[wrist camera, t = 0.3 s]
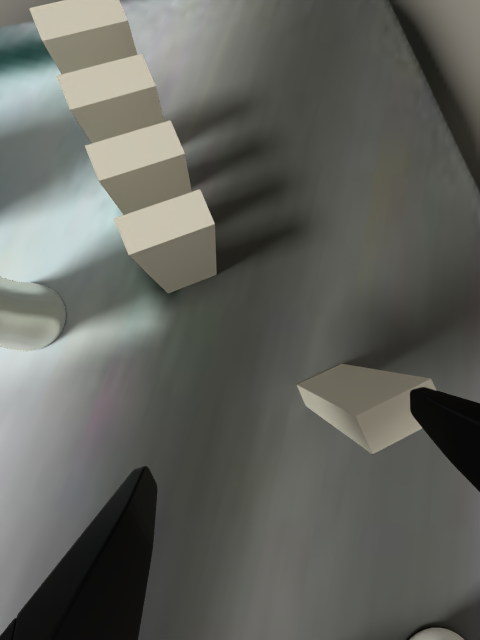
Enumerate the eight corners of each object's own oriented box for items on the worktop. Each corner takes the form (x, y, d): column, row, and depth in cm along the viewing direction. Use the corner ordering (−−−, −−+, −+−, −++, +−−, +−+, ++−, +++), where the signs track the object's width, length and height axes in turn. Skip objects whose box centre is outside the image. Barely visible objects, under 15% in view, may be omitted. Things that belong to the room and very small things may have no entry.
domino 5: (165, 153, 24) (127, 20, 14) (116, 168, 24) (42, 40, 14) (156, 134, 24) (114, -11, 14) (108, 148, 24) (29, 8, 14)
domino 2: (216, 274, 23) (214, 223, 13) (168, 293, 23) (128, 255, 13) (208, 254, 23) (199, 189, 14) (159, 272, 23) (113, 218, 13)
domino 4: (181, 192, 24) (155, 85, 14) (133, 209, 23) (70, 109, 13) (173, 173, 24) (141, 53, 14) (125, 189, 23) (56, 75, 13)
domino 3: (199, 233, 24) (184, 153, 14) (150, 250, 23) (98, 180, 13) (190, 213, 24) (170, 120, 14) (141, 230, 23) (84, 145, 13)
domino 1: (350, 384, 23) (447, 414, 14) (306, 406, 23) (372, 454, 13) (341, 363, 24) (430, 378, 14) (296, 384, 23) (355, 416, 13)
